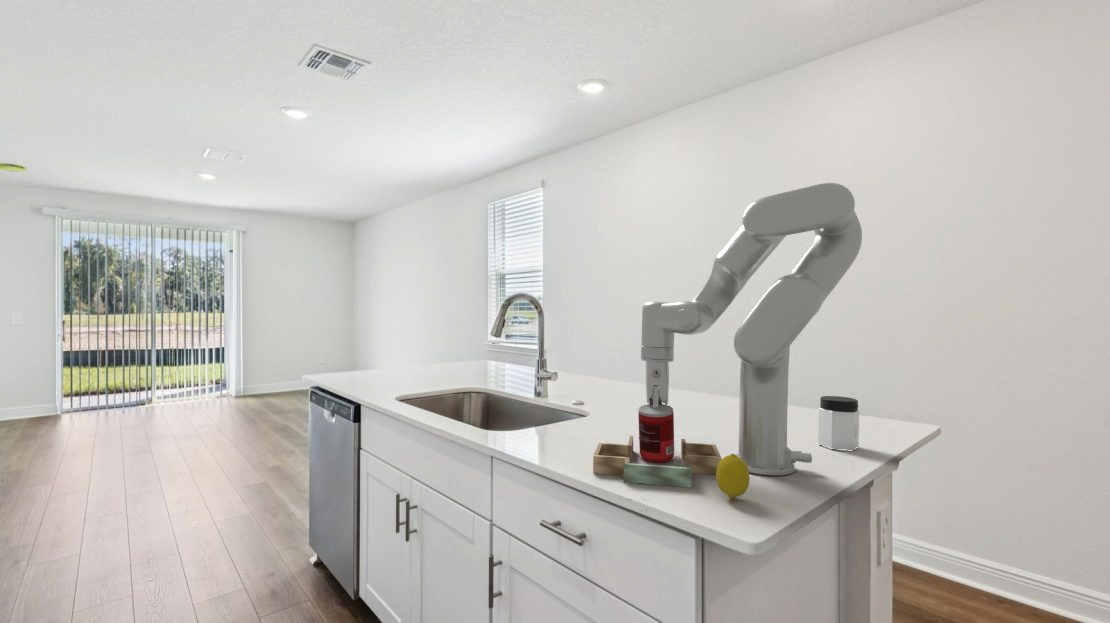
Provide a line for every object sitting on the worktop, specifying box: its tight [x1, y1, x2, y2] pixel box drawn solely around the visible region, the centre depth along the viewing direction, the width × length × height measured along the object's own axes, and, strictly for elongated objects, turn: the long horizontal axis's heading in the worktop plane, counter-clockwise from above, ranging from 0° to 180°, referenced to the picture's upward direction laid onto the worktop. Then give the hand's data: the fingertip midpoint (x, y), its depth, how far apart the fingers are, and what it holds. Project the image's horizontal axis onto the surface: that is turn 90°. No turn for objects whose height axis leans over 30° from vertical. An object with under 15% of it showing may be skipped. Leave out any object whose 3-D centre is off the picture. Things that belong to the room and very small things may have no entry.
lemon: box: [715, 453, 750, 500], centre depth 90 cm, size 6×6×8 cm
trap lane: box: [592, 435, 722, 489], centre depth 108 cm, size 25×23×4 cm
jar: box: [817, 395, 860, 451], centre depth 126 cm, size 9×8×12 cm
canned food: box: [637, 403, 675, 464], centre depth 113 cm, size 8×8×11 cm
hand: (655, 431), depth 120 cm, fingers closed
